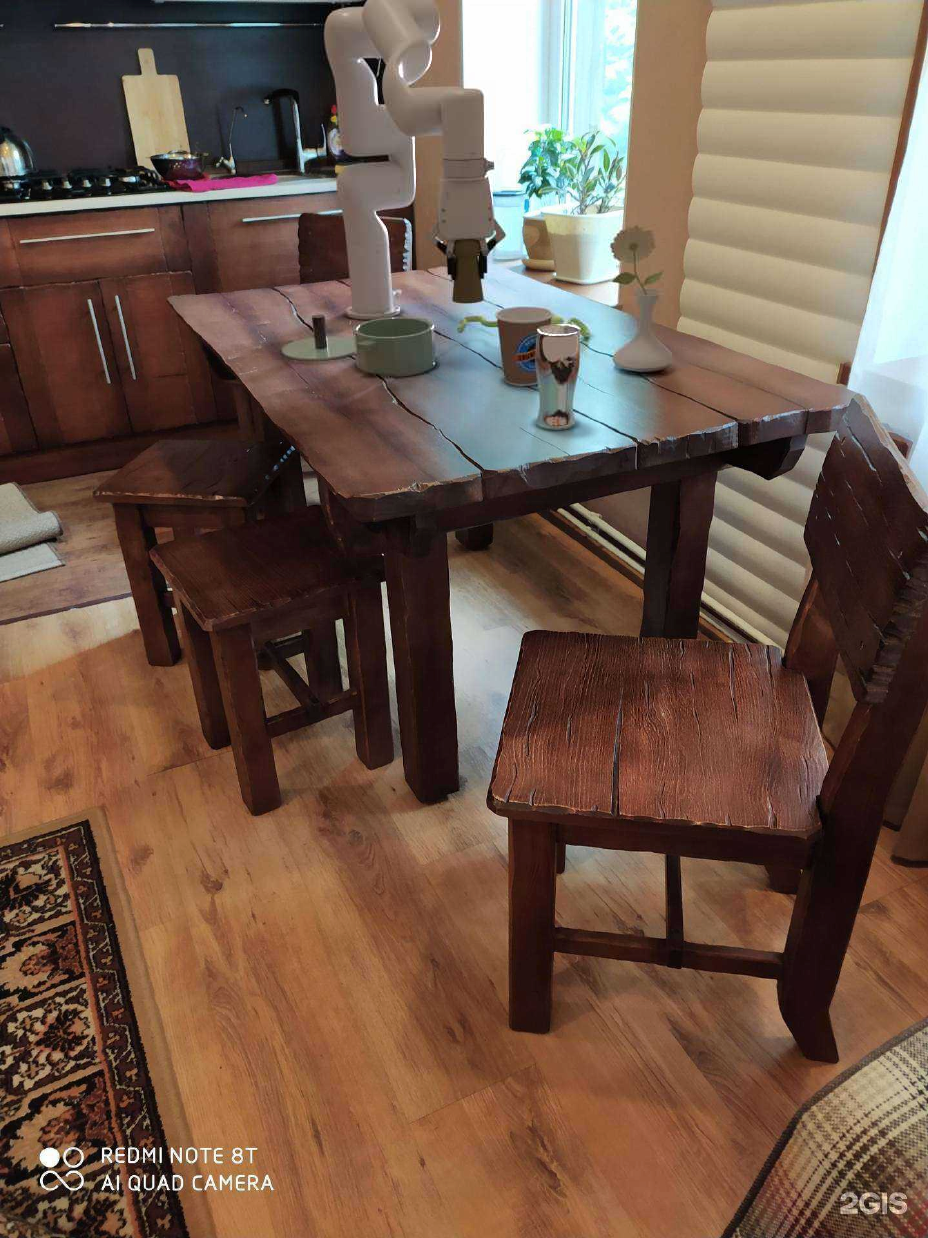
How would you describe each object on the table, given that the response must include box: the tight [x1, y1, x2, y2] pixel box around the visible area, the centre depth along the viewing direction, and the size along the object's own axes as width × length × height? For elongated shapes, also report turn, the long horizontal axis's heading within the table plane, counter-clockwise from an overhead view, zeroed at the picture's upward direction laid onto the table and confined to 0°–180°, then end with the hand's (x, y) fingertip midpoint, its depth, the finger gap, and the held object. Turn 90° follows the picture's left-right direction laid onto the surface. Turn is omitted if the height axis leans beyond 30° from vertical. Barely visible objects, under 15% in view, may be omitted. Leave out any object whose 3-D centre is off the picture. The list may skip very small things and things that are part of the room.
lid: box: [281, 314, 355, 362], centre depth 183 cm, size 16×16×7 cm
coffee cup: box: [494, 306, 555, 387], centre depth 162 cm, size 10×10×12 cm
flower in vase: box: [609, 224, 675, 373], centre depth 163 cm, size 13×11×25 cm
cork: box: [451, 239, 485, 305], centre depth 167 cm, size 6×6×11 cm
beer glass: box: [535, 323, 581, 431], centre depth 142 cm, size 7×7×15 cm
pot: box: [352, 316, 436, 378], centre depth 174 cm, size 15×21×7 cm
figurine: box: [456, 313, 591, 338], centre depth 186 cm, size 18×27×6 cm
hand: (467, 277), depth 168 cm, fingers closed on cork, 4 cm apart
